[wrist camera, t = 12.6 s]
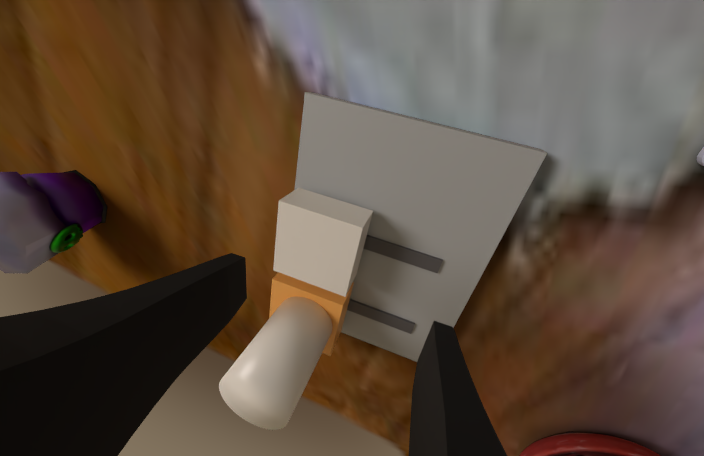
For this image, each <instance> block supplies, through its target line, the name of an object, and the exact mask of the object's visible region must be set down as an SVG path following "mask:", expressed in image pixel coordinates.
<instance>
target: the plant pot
mask: <svg viewBox="0 0 704 456" xmlns="http://www.w3.org/2000/svg"><path fill="white" fill-rule="evenodd" d="M519 456H661V455H659V454H658V453H656V452H654V451H652V450H650V449H648V448H646V447H644V446H641V445H639V444H636V443H634V442H631V441H628V440H625V439H621V438H617V437H614V436H608V435H602V434H593V433H574V432H566V433H565V434H558V435H554V436H550V437H546V438H543V439H540V440H538V441H536V442H534V443H532V444H531V445H529V446H528V447H527V448H525V449H524V450H523V451H522V453H521V454H520V455H519Z"/></svg>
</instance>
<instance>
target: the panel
mask: <svg viewBox="0 0 704 456" xmlns="http://www.w3.org/2000/svg"><path fill="white" fill-rule="evenodd" d="M546 155H547V153H546V152H545V151H543V150H541V149H538V148H534V147H530V146H526V145H522V144H518V143H514V142H510V141H506V140H502V139H498V138H494V137H490V136H486V135H482V134H478V133H474V132H470V131H466V130H462V129H458V128H454V127H450V126H445V125H441V124H437V123H433V122H429V121H425V120H421V119H417V118H413V117H409V116H405V115H401V114H397V113H393V112H389V111H385V110H381V109H377V108H373V107H369V106H365V105H361V104H357V103H353V102H349V101H345V100H341V99H337V98H333V97H329V96H325V95H321V94H317V93H313V92H305V98H304V108H303V117H302V126H301V135H300V145H299V154H298V163H297V173H296V182H295V190H296V189H297V188H302V189H305V190H308V191H311V192H315V193H318V194H321V195H324V196H327V197H331V198H334V199H337V200H340V201H343V202H347V203H350V204H353V205H356V206H359V207H363V208H366V209H369V210H372V211H373V213H372V217H371V221H370V225H369V229H368V232H367V236H366V240H365V244H364V248H363V252H362V255H361V259H360V263H359V267H358V271H357V274H356V276H355V278H354V281H353V282H354V285H353V288H352V292H351V296H350V300H349V304H348V308H347V311H346V315H345V319H344V323H343V327H342V330H341V332H342V333H345V334H347V335H350V336H352V337H355V338H357V339H360V340H362V341H365V342H367V343H370V344H373V345H375V346H378V347H380V348H383V349H385V350H388V351H390V352H393V353H395V354H398V355H400V356H403V357H406V358H408V359H411V360H413V361H416V362H417V361H418V358H419V356H420V353H421V351H422V348H423V346H424V344H425V341H426V339H427V336H428V334H429V331H430V329H431V326H432V324H433V321H437V322H440V323H443V324H446V325H449V326H452V327H453V328H454V326H455V324H456V322H457V320H458V318H459V317H460V315H461V313H462V311H463V309H464V307H465V305H466V304H467V302H468V300H469V298H470V296H471V294H472V292H473V290H474V289H475V287H476V285H477V283H478V281H479V279H480V277H481V276H482V274H483V272H484V270H485V268H486V266H487V264H488V263H489V261H490V259H491V257H492V255H493V253H494V251H495V250H496V248H497V246H498V244H499V242H500V240H501V238H502V237H503V235H504V233H505V231H506V229H507V227H508V225H509V224H510V222H511V220H512V218H513V216H514V214H515V212H516V211H517V209H518V207H519V205H520V203H521V201H522V199H523V197H524V196H525V194H526V192H527V190H528V188H529V186H530V184H531V183H532V181H533V179H534V177H535V175H536V173H537V171H538V170H539V168H540V166H541V164H542V162H543V160H544V158H545V157H546Z"/></svg>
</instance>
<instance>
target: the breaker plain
mask: <svg viewBox="0 0 704 456" xmlns="http://www.w3.org/2000/svg"><path fill="white" fill-rule="evenodd" d="M372 213H373V211H372V210H369V209H366V208H363V207H359V206H356V205H353V204H350V203H347V202H343V201H340V200H337V199H334V198H331V197H327V196H324V195H321V194H318V193H315V192H311V191H308V190H305V189H302V188H297V189H296V190H294V191H293V192H291V193H290V194H288V195H287V196H285V197H284V198H282V199H281V200H279V206H278V219H277V231H276V243H275V256H274V268H273V270H274V271H277V272H279V273H282V274H285V275H287V276H290V277H293V278H296V279H298V280H301V281H304V282H306V283H309V284H312V285H314V286H317V287H320V288H322V289H325V290H328V291H331V292H333V293H336V294H339V295H341V296H344V297H346V295H347V293H348V291H349V289H350V287H351V285H352V283H353V281H354V278H355V276H356V274H357V271H358V267H359V263H360V259H361V255H362V252H363V248H364V244H365V240H366V236H367V232H368V229H369V225H370V221H371V217H372Z"/></svg>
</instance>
